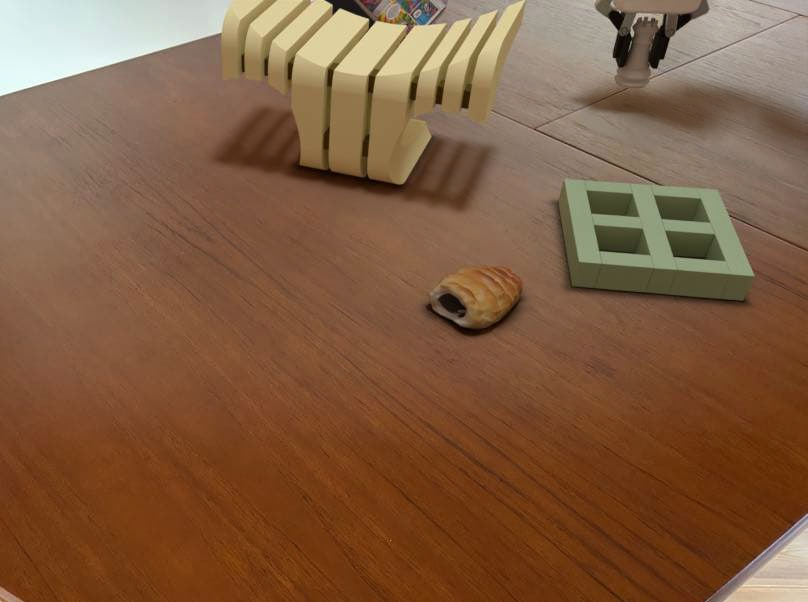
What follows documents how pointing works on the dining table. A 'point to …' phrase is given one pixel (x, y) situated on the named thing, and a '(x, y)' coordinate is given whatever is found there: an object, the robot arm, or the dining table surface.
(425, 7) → the colorful printed box
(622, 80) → the rook chess piece
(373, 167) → the slatted curved stool
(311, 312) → the dining table surface
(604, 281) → the window frame
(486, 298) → the pastry
